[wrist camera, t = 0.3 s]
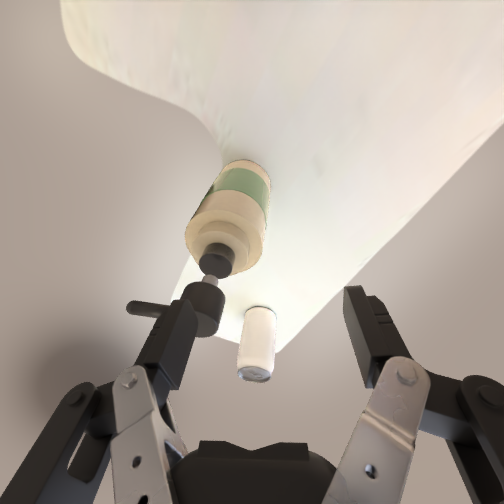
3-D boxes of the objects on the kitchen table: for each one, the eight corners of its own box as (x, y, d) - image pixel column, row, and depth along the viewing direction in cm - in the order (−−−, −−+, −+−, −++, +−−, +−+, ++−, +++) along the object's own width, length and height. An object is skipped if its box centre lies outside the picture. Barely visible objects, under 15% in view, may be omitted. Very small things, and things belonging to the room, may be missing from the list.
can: (263, 301, 46) (257, 362, 36) (282, 319, 48) (281, 380, 39) (238, 312, 49) (227, 370, 39) (257, 328, 51) (251, 386, 42)
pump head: (230, 268, 17) (217, 313, 14) (229, 295, 19) (218, 341, 16) (146, 256, 17) (115, 298, 14) (154, 284, 19) (128, 327, 16)
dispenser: (274, 163, 29) (264, 236, 17) (267, 214, 34) (255, 301, 21) (216, 156, 30) (164, 223, 17) (217, 208, 34) (177, 290, 22)
